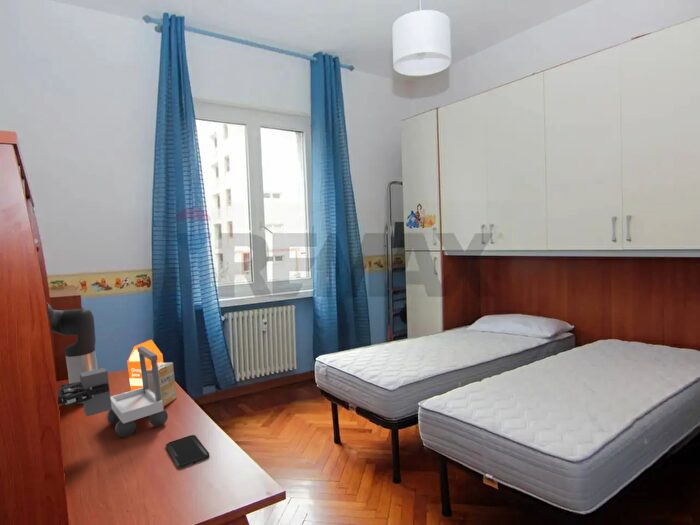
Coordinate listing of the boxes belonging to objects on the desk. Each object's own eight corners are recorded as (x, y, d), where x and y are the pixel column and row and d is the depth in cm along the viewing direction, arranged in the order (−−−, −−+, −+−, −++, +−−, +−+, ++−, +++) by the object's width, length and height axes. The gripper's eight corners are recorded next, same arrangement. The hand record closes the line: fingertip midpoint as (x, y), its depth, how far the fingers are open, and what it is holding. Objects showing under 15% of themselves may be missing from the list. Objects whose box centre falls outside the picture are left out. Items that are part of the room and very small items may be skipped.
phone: (194, 434, 122) (210, 454, 109) (194, 437, 122) (210, 458, 109) (164, 443, 117) (177, 466, 105) (164, 447, 117) (178, 471, 105)
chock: (84, 411, 120) (79, 373, 120) (108, 405, 124) (104, 367, 123) (87, 416, 117) (82, 376, 116) (111, 409, 121) (107, 370, 120)
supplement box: (163, 408, 144) (158, 370, 143) (150, 408, 145) (145, 370, 144) (177, 398, 152) (173, 361, 151) (165, 398, 153) (161, 362, 152)
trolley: (106, 423, 135) (97, 355, 134) (153, 408, 144) (145, 344, 142) (119, 442, 122) (109, 367, 120) (170, 425, 130) (162, 354, 128)
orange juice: (167, 392, 158) (161, 339, 156) (150, 402, 150) (143, 346, 148) (149, 392, 160) (142, 339, 158) (131, 402, 152) (124, 346, 150)
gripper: (31, 396, 105) (110, 377, 116) (28, 383, 116) (100, 366, 127) (35, 426, 106) (113, 404, 117) (32, 410, 117) (103, 391, 128)
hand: (106, 384), depth 122 cm, fingers closed on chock, 4 cm apart
